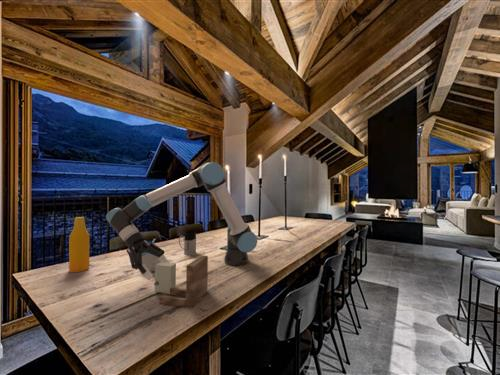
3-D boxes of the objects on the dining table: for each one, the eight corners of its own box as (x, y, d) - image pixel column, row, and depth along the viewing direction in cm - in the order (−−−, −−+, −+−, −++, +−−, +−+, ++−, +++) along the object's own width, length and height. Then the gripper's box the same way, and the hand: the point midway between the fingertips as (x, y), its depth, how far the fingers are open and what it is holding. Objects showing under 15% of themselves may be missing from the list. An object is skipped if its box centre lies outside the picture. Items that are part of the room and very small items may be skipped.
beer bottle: (91, 269, 131) (91, 217, 130) (70, 273, 124) (70, 219, 124) (87, 265, 137) (87, 215, 137) (67, 269, 130) (67, 217, 130)
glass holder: (199, 253, 164) (199, 231, 164) (183, 258, 152) (183, 235, 152) (190, 251, 169) (190, 230, 169) (174, 255, 157) (174, 233, 157)
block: (153, 292, 104) (153, 265, 104) (160, 287, 109) (160, 262, 108) (169, 294, 102) (169, 267, 102) (175, 289, 107) (175, 263, 107)
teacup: (153, 274, 124) (153, 259, 124) (135, 273, 126) (135, 258, 126) (167, 265, 138) (167, 252, 138) (151, 264, 140) (151, 251, 140)
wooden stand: (159, 303, 95) (159, 263, 94) (178, 287, 109) (178, 253, 109) (192, 307, 91) (192, 266, 91) (207, 291, 106) (207, 255, 105)
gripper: (144, 236, 121) (170, 268, 118) (104, 249, 97) (135, 289, 94) (153, 226, 120) (180, 258, 117) (115, 237, 96) (147, 277, 93)
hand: (160, 272), depth 105 cm, fingers open, 13 cm apart
